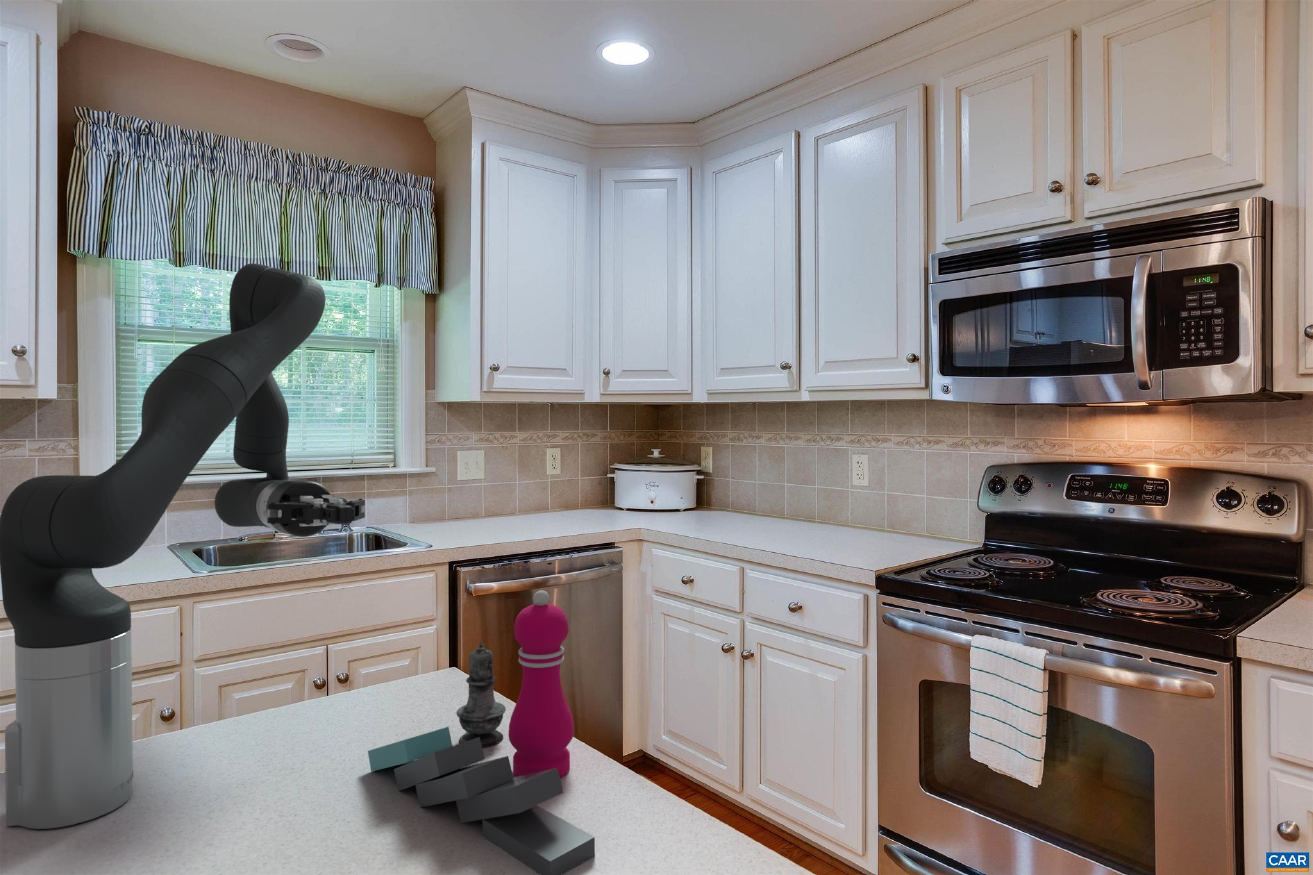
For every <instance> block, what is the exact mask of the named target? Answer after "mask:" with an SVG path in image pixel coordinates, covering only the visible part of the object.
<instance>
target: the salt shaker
mask: <svg viewBox="0 0 1313 875" xmlns="http://www.w3.org/2000/svg"><path fill="white" fill-rule="evenodd" d="M484 645H485V644H484V643H483V641H480V642H479V643H478V647H477V648H476V649H474V650H473V651H471V652H470V653H469V657H468V659H469V660H468V661H469V662H468V666H469V667H468V670H469V671H468V672H469V674H468V675H469V676H468V677H467V678H466V679H465V681H466V683H467V684H468V697H467V702H466V704H464V705H462V706H460V707H459V708H458V709H457V710H456V716H457V717H458V719H459V720H458V721H459V724H460V726H461V728H462V730H464V731H465V733H464V734H462V735H461V736H460V737H459V739H458V744H461V743H463V742H466V741H469V740H472V739H475V738H478V737H480V741H481V745H482V749H487V748H491V747H494V746H496V745H498V744H500V743H501V742H502V741H503V740H504V734H503V733H502V732H500V731H499V730H497V729H498V727H500V725H501V723H502V722H503V718H504V714H505V712H506V711H507V709H506V706H505V705H504V703H503V704H502V703H501V702H498V701H497V702H496V699H495V694H494V692H495V691H494V688H495V687H494V685H495V682H496V681H497V677H496V676H495V675H494V655H493V652H492V651H491V650H490V649H487V648H485V647H484Z"/></svg>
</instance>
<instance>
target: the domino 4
mask: <svg viewBox="0 0 1313 875" xmlns="http://www.w3.org/2000/svg"><path fill="white" fill-rule="evenodd" d="M513 778H514V779H513V780H511V781H508V782H506V783H504V784H501V785H499V786H496V787H494V788H491V789H489V790H486V791H484V792H481V793H479V794H476V795H474V796H471V797H469V798H465V799H460V800H455V803H456V807H457V812H458V815H459V820H460V823H461V824H462V823H463V824H464V823H469V822H474V821H481V820H482V819H487V818H493V817H499V816H505V815H511V814H517V813H521V812H523V811H525V810H527V809H530V808H532V807H534V806H536V805H537V806H539V805H540V804H542V803H544V802H546V801H548V800H550V799H552V798H554V797H557V796H559V795H561V794H563V793H564V789H563V785H562V781H561V777H559V773H558V769H557V768H554V769H550V770H545V771H541V772H536V773H532V774H527V775H523V776H518V777H516V776H513Z"/></svg>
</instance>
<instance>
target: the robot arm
mask: <svg viewBox="0 0 1313 875" xmlns="http://www.w3.org/2000/svg"><path fill="white" fill-rule="evenodd" d="M228 302H229V305H228V306H229V309H228V310H229V324H230V327H229V328H230V333H227V334H225V335H222V336H221V335H220V336H218V337H215V338H211V339H208V340H206V341H203V342H201V343H198V344H195V345H193V346H191V347H189V348H187V349H185V350H184V351H182V352H181V353H179V355H177V356H176V357H175V358H174V359H173V360H172V361H171V362H170V363H169V364H168V365H167V366H166V367H165V368H164V369H163V370H162V371H161V372H160V373H159V374H158V375H157V376H156V377H155V378H154V379H153V381H152V382H151V383H150V384H149V386H148V387H147V388H146V390H145V392H144V395H143V399H142V403H141V432H140V434H139V436H138V438H137V440H136V441H135V443H134V444H133V445H132V446H131V447H130V448H129V449H128V450H127V451H126V452H125V454H123V456H122V457H121V458H119V460H117V461H116V462H115V463H114V464H113V465H112V466H110V467H109V468H108V469H107V470H105V471H103V472H101V473H99V474H97V475H72V474H71V475H69V474H68V475H65V474H64V475H63V474H62V475H61V474H57V475H56V474H55V475H52V474H51V475H41V476H35V477H32V478H29V479H27V480H25V481H23V482H22V483H20V484H18V486H16V487H15V488H13V490H12V492H10V493H9V495H8V496H7V498H6V500H5V501H4V502H5V503H4V505H3V507H2V509H1V513H0V582H1V595H2V596H1V597H2V606H3V610H4V613H5V615H6V617H7V619H8V620H9V622H10V624H11V626H12V628H13V631H14V632H13V633H14V672H15V673H14V674H15V678H14V679H15V680H14V682H15V720H14V721H12V722H11V723H9V724H8V725H7V726H6V727H5V730H4V765H5V766H4V773H5V774H4V775H5V777H4V778H5V779H4V781H5V785H4V786H5V826H6V827H12V826H14V827H15V826H20V827H23V828H25V829H26V828H28V829H33V830H34V829H35V830H42V829H43V830H47V829H48V830H49V829H54V828H63V827H67V826H73V825H76V824H79V823H85V822H87V821H90V820H93V819H96V818H99V817H101V816H104V815H106V814H108V813H110V812H112V811H114V810H116V809H118V808H120V807H121V806H122V805H124V804H125V803H126V802H127V801H128V800H130V799H131V797H132V796H133V778H134V769H133V766H134V765H133V680H132V679H133V672H132V670H133V668H132V661H133V660H132V659H133V658H132V611H131V610H132V609H131V606H130V605H131V604H129V602H128V601H127V599H125V598H123V597H122V596H119V595H117V594H115V593H113V592H111V591H110V590H108V589H107V588H105V587H104V586H103V585H101V583H100V582H98V580H97V579H96V577H95V575H94V573H93V569H98V570H99V569H105V568H110V567H114V566H115V567H116V566H117V565H120V564H122V563H123V562H125V561H127V560H128V559H130V558H131V557H132V556H133V555H134V554H135V553H137V552H138V550H139V549H140V548H142V546H143V545H144V543H145V542H146V541H147V539H148V538H149V537H150V536H151V533H153V531H154V529H155V528H156V526H157V525H158V523H159V521H160V520H161V519H162V517H163V515H164V514H165V512H166V511H167V509H168V508H169V506H170V504H171V503H172V501H173V499H175V498H174V497H175V496H176V494H177V493H178V491H179V490H180V488H181V487H182V485H183V484H184V482H185V481H186V479H187V478H188V477H189V475H190V474H191V472H192V471H193V470H194V468H196V466H197V464H198V463H199V462H200V461H201V460H202V458H203V457H204V456H205V454H206V453H207V451H208V450H209V449H210V448H211V446H212V445H213V444H214V442H215V441H216V440H217V439H218V438H219V436H220V435H221V434H222V433H223V432H224V431H225V430H226V429H227V428H228V427H229V426H230V424H231V423H232V422H233V421H234V419H235V424H234V425H235V426H234V439H233V451H232V452H233V454H232V456H233V460H234V462H235V463H236V464H237V465H238V466H239V467H241V468H243V469H247V470H250V471H255V472H256V471H257V472H262V473H266V476H265V477H255V478H254V477H253V478H240V479H239V478H238V479H231V480H228V481H226V482H224V483H223V484H222V485H221V486H220V487H219V488H218V490H217V492H216V493H215V497H214V509H215V513H216V514H217V516H218V518H219V519H220V521H222V522H223V523H224V524H225V525H228V526H231V527H233V528H234V527H235V528H236V527H237V528H243V527H244V528H245V527H249V528H250V527H264V528H268V529H270V530H271V529H272V530H273V531H275V532H278V533H281V534H286V535H290V536H294V537H301V538H305V537H308V538H309V537H312V536H315V535H317V534H319V533H321V532H322V531H323V530H325V529H326V528H327V526H329V525H330V526H334V525H347V524H348V525H349V524H350V525H351V524H352V522H355V521H359V520H362V519H364V518H366V499H363V498H358V499H352V500H349V501H344V500H340V499H339V498H338V497H333V496H332V494H331V493H330V491H329V490H328V489H327V488H326V487H325V486H324V485H322V484H320V483H318V482H316V481H312V480H298V479H290V478H289V473H288V466H287V446H288V444H287V443H288V436H289V427H290V426H289V425H290V424H289V423H290V417H289V410H288V406H287V403H286V400H285V398H284V395H283V393H282V391H281V388H280V386H279V385H278V382H277V381H276V379H275V377H274V374H273V371H274V370H275V369H277V367H278V366H279V365H280V364H282V363H283V362H284V360H286V358H288V357H289V356H290V355H291V354H292V353H293V352H295V350H296V349H298V348H299V347H300V346H301V345H302V344H303V343H304V342H305V341H306V340H307V339H308V338H309V337H310V336H311V334H312V333H314V330H315V329H316V328H317V326H318V324H319V323H320V321H321V319H322V317H323V314H324V312H325V306H326V293H325V290H324V288H323V286H322V284H320V282H319V281H317V280H316V279H314V278H312V277H310V276H307V275H305V274H302V273H297V272H294V271H290V270H287V269H282V268H278V267H273V266H269V265H265V264H260V263H252V262H251V263H246V264H244V265H243V266H242V267H241V268H239V270H238V271H237V272H236V274H235V275H234V277H233V280H232V283H231V287H230V291H229V301H228Z"/></svg>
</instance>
